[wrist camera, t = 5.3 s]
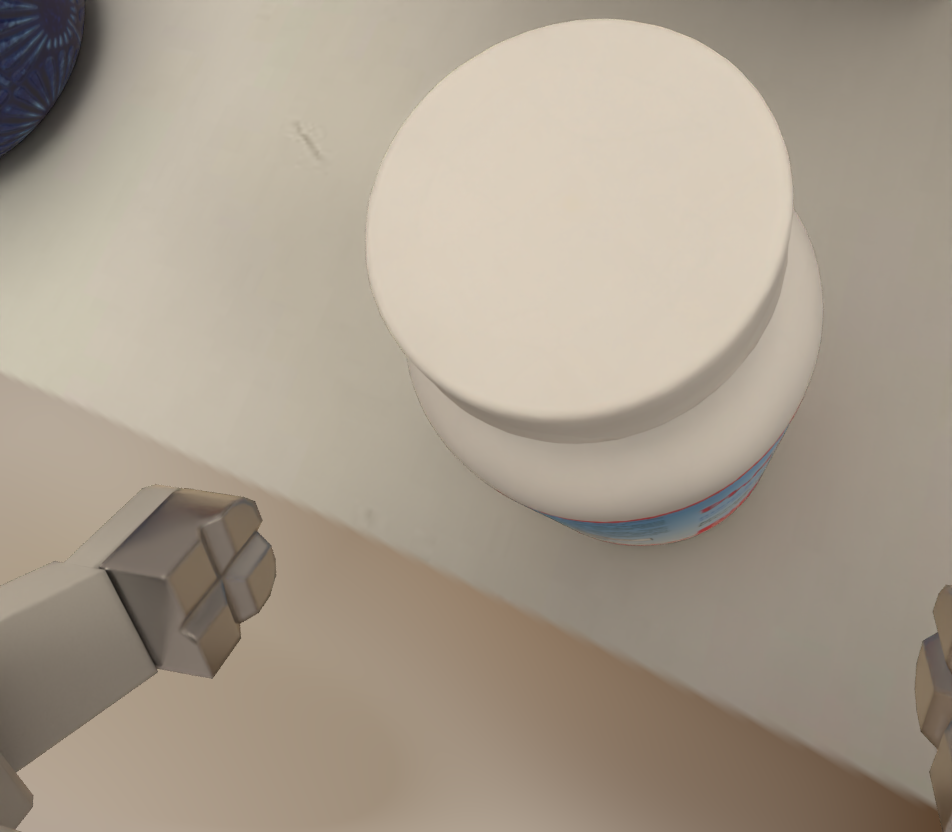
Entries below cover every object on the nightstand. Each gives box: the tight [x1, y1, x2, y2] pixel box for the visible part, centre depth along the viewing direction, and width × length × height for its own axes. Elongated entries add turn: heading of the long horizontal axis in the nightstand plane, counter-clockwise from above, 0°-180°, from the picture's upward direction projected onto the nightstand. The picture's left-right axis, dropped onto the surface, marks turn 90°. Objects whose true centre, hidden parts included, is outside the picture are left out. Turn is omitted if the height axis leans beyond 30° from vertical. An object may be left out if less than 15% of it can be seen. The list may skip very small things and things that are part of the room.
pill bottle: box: [365, 19, 824, 546], centre depth 13 cm, size 6×6×11 cm
